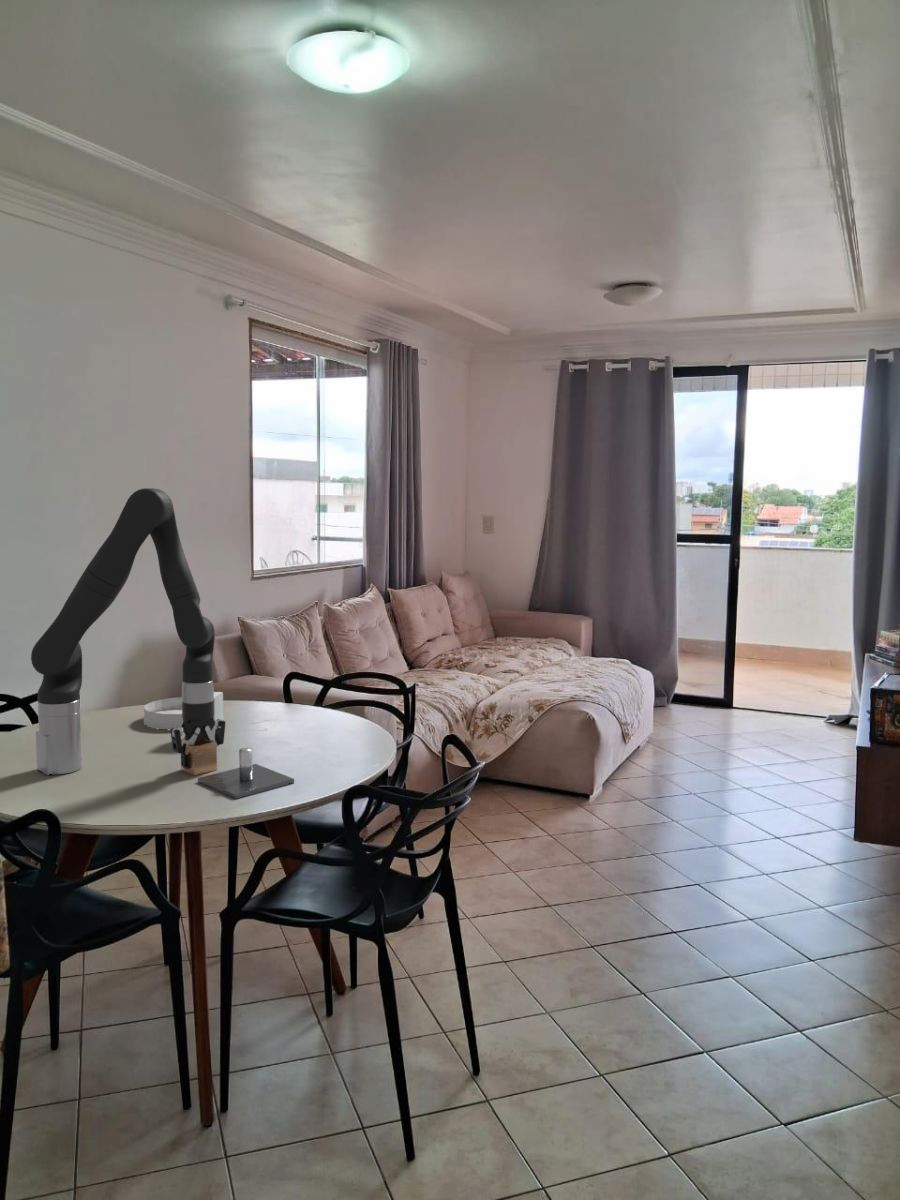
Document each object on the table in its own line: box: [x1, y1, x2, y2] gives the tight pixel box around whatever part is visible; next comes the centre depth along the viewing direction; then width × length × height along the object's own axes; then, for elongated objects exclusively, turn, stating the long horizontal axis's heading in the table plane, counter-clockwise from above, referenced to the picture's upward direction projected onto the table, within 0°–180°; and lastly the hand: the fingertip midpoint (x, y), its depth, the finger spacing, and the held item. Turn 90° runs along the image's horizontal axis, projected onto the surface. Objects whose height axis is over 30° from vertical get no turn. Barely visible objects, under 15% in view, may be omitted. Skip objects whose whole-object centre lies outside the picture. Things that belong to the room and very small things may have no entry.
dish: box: [143, 696, 183, 731], centre depth 259 cm, size 22×22×5 cm
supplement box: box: [211, 691, 225, 738], centre depth 240 cm, size 7×7×13 cm
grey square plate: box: [197, 747, 295, 800], centre depth 204 cm, size 16×16×8 cm
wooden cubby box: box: [180, 739, 218, 776], centre depth 213 cm, size 6×6×7 cm
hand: (199, 765), depth 213 cm, fingers closed on wooden cubby box, 6 cm apart
